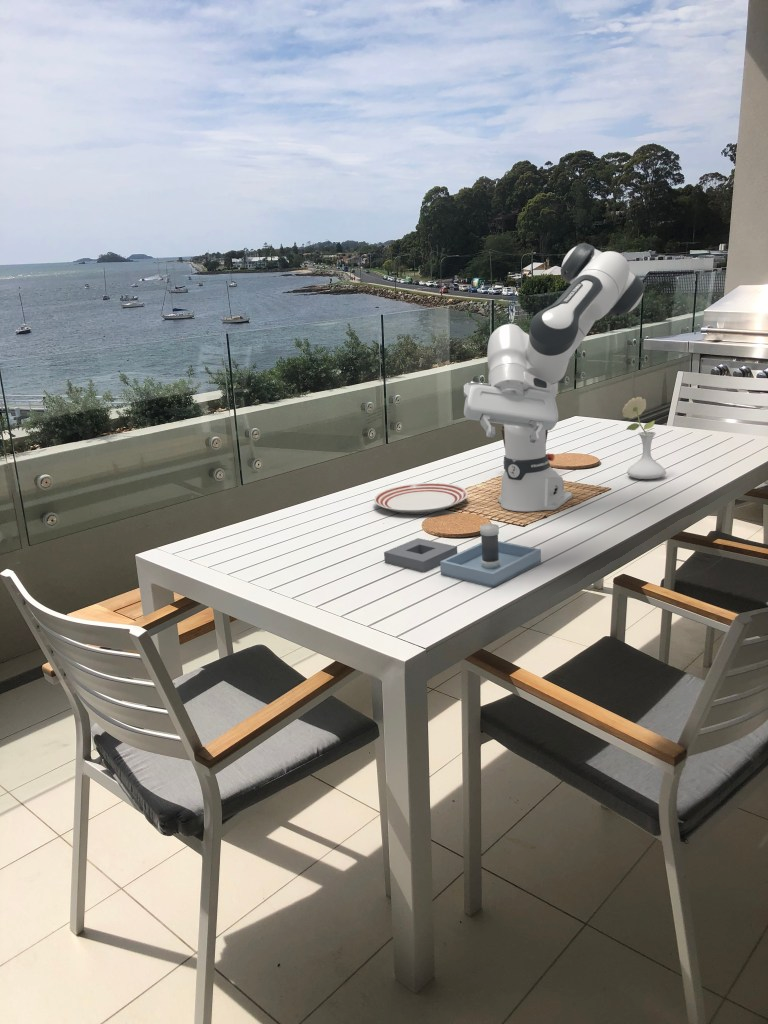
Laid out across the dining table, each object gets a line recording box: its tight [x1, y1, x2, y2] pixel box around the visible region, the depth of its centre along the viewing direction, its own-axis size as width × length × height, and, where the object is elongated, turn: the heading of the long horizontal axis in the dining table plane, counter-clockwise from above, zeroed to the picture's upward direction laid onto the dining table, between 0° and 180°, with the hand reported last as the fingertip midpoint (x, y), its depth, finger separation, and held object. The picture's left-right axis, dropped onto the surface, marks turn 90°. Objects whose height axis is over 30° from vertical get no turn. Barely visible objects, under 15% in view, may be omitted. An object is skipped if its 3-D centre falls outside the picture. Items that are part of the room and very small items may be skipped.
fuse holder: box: [383, 537, 458, 573], centre depth 176 cm, size 12×12×2 cm
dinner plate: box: [373, 482, 469, 515], centre depth 221 cm, size 28×27×3 cm
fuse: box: [479, 523, 500, 569], centre depth 166 cm, size 4×4×9 cm
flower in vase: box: [621, 396, 667, 480], centre depth 229 cm, size 13×11×25 cm
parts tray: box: [439, 540, 542, 589], centre depth 167 cm, size 18×14×3 cm
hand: (512, 438), depth 159 cm, fingers open, 8 cm apart
